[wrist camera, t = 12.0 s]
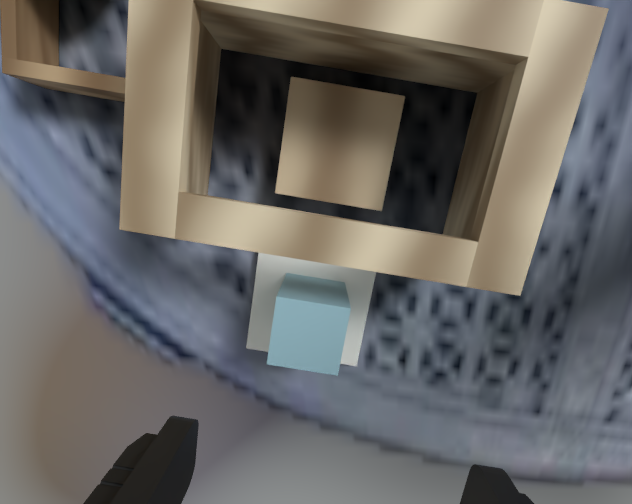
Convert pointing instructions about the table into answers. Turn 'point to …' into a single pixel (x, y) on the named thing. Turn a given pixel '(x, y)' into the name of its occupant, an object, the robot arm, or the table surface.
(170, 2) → the frame
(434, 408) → the table surface
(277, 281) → the tile
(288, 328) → the block
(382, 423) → the table surface
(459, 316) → the table surface
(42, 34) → the corn rack
